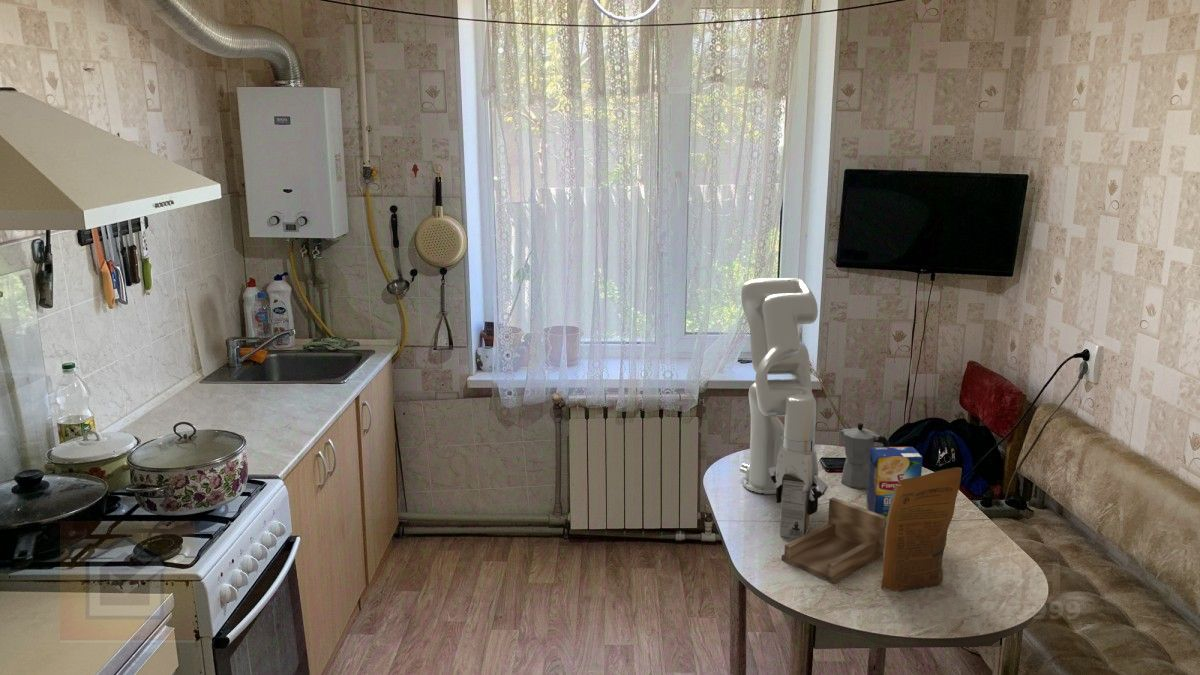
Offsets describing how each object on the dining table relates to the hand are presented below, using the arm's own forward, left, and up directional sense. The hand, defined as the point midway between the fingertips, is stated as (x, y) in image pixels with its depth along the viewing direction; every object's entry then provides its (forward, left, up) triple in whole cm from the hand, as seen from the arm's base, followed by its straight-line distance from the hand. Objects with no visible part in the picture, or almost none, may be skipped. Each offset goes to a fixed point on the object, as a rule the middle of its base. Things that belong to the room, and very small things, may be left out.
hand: (796, 507), depth 228 cm
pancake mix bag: (+35, -2, -7) cm, 35 cm away
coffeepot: (-6, +39, -7) cm, 40 cm away
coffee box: (0, 0, -7) cm, 7 cm away
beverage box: (+17, +17, -7) cm, 25 cm away
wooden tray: (+15, -5, -7) cm, 17 cm away
